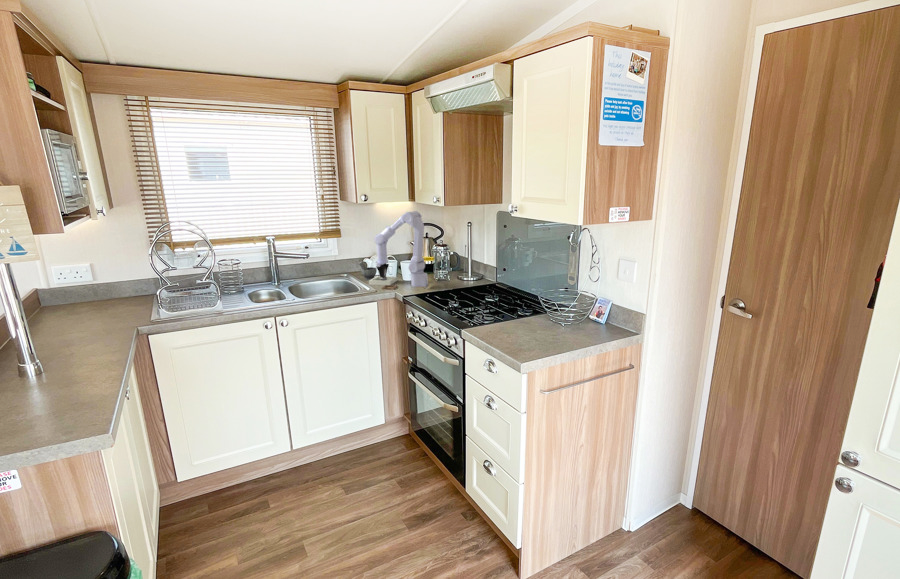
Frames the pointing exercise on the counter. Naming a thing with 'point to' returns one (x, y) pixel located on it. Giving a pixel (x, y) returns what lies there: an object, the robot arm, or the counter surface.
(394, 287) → the stud block
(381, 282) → the bin
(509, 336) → the counter surface
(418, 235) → the robot arm
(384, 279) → the strut
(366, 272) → the mortar and pestle
